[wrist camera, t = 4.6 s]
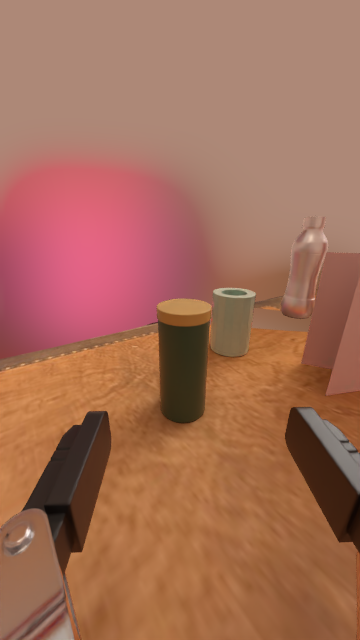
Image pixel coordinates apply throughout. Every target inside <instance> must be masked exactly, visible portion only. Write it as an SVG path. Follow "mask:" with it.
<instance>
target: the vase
mask: <svg viewBox="0 0 360 640" xmlns="http://www.w3.org/2000/svg"><path fill="white" fill-rule="evenodd" d="M255 296H256V293H254V292H253V291H250V290H246V289H240V288H220V289H216V290H214V291H213V301H212V318H211V334H210V348H211V349H212V350H213V351H214V352H215V353H217V354H220V355H223V356H228V357H238V356H242V355H245V354H246V353H247V352H248V350H249V343H250V335H251V328H252V320H253V312H254V304H255Z"/></svg>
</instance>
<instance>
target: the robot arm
mask: <svg viewBox="0 0 360 640" xmlns="http://www.w3.org/2000/svg"><path fill="white" fill-rule="evenodd" d="M285 439H286V444H287V447H288V449H289V451H290V453H291V455H292V457H293V459H294V461H295V462H296V464H297V466H298V468H299V470H300V472H301V473H302V475H303V477H304V479H305V481H306V483H307V484H308V486H309V488H310V490H311V492H312V493H313V495H314V497H315V499H316V501H317V503H318V504H319V506H320V508H321V510H322V512H323V514H324V515H325V517H326V519H327V521H328V523H329V525H330V526H331V528H332V530H333V532H334V534H335V536H336V537H337V539H338V541H339V542H353V543H354V545H355V547H356V548H357V550H358V552H357V555H356V579H357V636H356V640H360V453H358V451H357V449H356V448H355V447H354V446H353V445H352V443H349V440H348V439H347V438H346V437H345V435H344V434H343V433H342V432H341V431H340V430H339V429H338V428H337V427H335V426H334V425H333V424H331V423H330V422H329V421H327V420H322V419H321V418H320V416H319V415H318V414H317V413H316V411H315V410H314V409H313V408H311V407H293V408H291V410H290V414H289V419H288V423H287V428H286V433H285ZM110 450H111V432H110V425H109V418H108V413H107V411H90V412H88V413H87V414H86V416H85V418H84V421H83V423H82V425H74V426H73V427H72V428H71V429H69V430H68V431H67V432H66V433H65V434H64V435H63V437H62V439H61V441H60V442H59V444H58V446H57V448H56V451H55V452H54V454H53V455H52V457H51V461H49V463H48V465H47V466H46V468H45V470H44V472H43V474H42V476H41V478H40V479H39V481H38V483H37V485H36V487H35V489H34V490H33V492H32V494H31V496H30V498H29V500H28V502H27V503H26V505H25V507H24V508H23V510H22V511H21V512H20V513H18V514H16V515H15V516H13V517H12V518H10V519H9V520H8V521H7V522H6V523H5V524H4V525H3V526H2V527H1V528H0V640H82V639H81V635H80V631H79V627H78V622H77V618H76V614H75V610H74V606H73V602H72V598H71V594H70V590H69V586H68V582H67V578H66V574H65V570H66V567H67V564H68V560H69V557H70V554H71V553H73V552H82V550H83V546H84V543H85V539H86V536H87V532H88V529H89V525H90V522H91V518H92V515H93V511H94V508H95V504H96V500H97V497H98V493H99V490H100V486H101V483H102V479H103V476H104V472H105V469H106V465H107V462H108V458H109V455H110Z"/></svg>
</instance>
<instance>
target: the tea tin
mask: <svg viewBox="0 0 360 640" xmlns="http://www.w3.org/2000/svg"><path fill="white" fill-rule="evenodd" d="M211 309H212V307H211V305H210V304H208V303H206V302H203V301H200V300H194V299H172V300H167V301H164V302H161V303H159V304H158V305H157V318H158V330H159V365H160V400H161V411H162V413H163V415H164V416H165V417H166V418H168V419H169V420H171V421H174V422H178V423H188V422H192V421H195V420H197V419H198V418H199V417H201V415H202V414H203V412H204V409H205V393H206V376H207V358H208V341H209V323H210V319H211Z"/></svg>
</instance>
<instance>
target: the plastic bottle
mask: <svg viewBox="0 0 360 640" xmlns="http://www.w3.org/2000/svg"><path fill="white" fill-rule="evenodd" d="M325 221H326V217H305V218H304V222H303V225H302V227H303V228H304V229H303V232H302V233H301V234H300V235H299V236H298V237H297V238H296V240H295V241H294V242H293V244H292V248H291V267H290V275H289V280H288V284H287V288H286V291H285V294H284V296H283V299H282V302H281V311H282V313H283V314H284V315H285V316H288V317H291V318H299V319H304V318H308V317H309V316H310V315H311V314H312V313H313V309H314V305H315V292H316V284H317V279H318V275H319V272H320V269H321V266H322V263H323V260H324V258H325V256H326V252H327V250H328V241H327V239H326V237H325V235H324V233H323V231H322V230H323V228H325Z"/></svg>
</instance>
